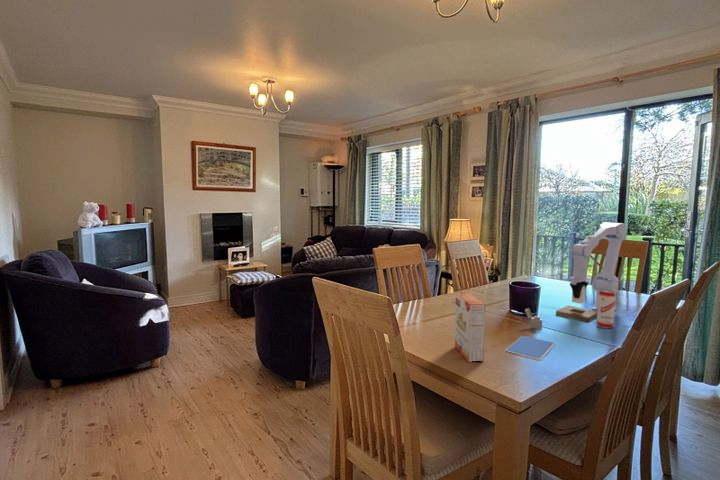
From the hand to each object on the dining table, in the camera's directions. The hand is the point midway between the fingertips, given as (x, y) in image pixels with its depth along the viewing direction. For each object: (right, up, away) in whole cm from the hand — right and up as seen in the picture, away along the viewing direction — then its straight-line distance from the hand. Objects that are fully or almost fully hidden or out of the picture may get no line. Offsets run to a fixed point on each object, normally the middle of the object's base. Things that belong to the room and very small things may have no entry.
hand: (578, 297), depth 180 cm
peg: (0, -2, 0) cm, 2 cm away
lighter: (-29, -11, -16) cm, 35 cm away
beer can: (+3, -11, -15) cm, 19 cm away
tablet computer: (-40, -14, -38) cm, 57 cm away
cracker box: (-66, -14, -43) cm, 80 cm away
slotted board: (0, -9, +1) cm, 9 cm away
